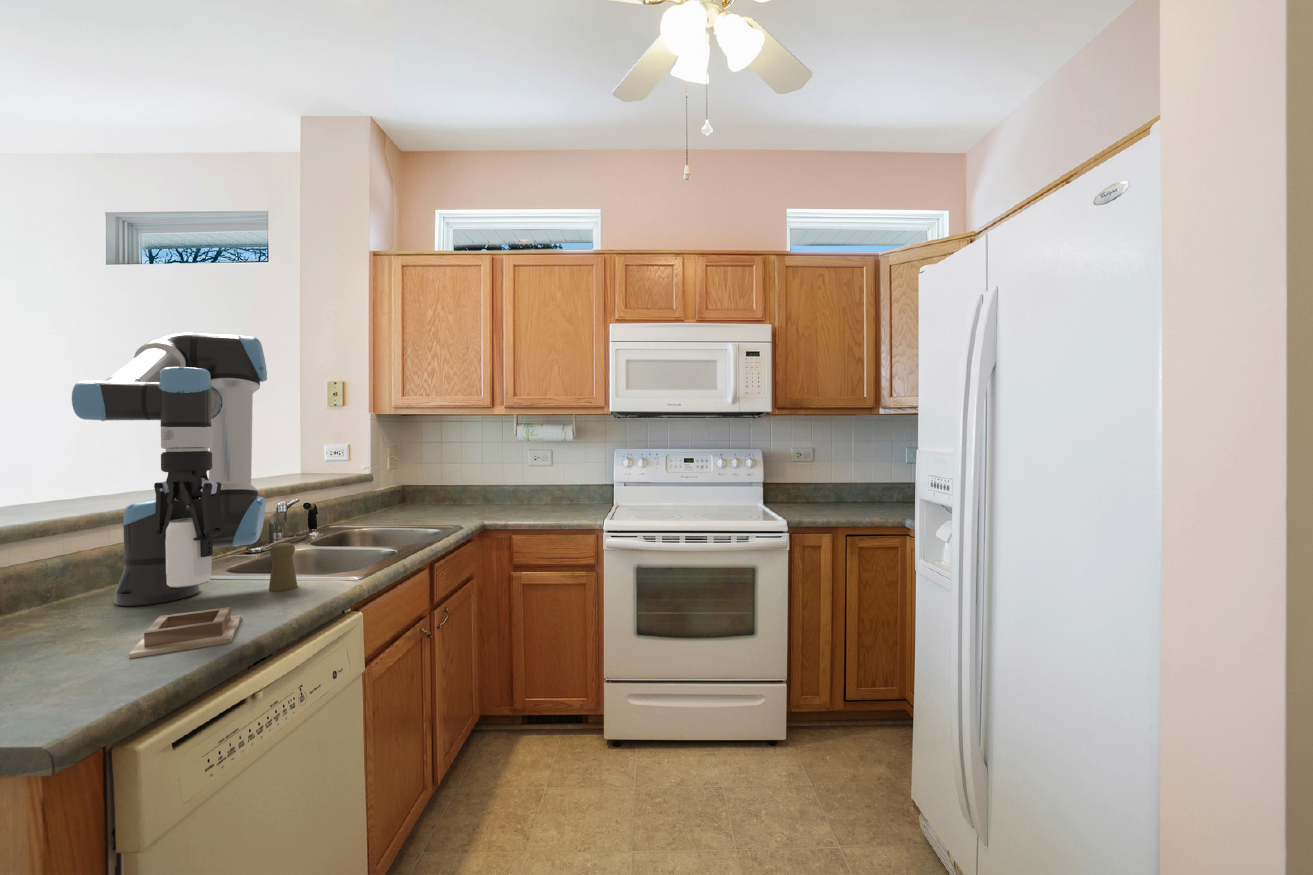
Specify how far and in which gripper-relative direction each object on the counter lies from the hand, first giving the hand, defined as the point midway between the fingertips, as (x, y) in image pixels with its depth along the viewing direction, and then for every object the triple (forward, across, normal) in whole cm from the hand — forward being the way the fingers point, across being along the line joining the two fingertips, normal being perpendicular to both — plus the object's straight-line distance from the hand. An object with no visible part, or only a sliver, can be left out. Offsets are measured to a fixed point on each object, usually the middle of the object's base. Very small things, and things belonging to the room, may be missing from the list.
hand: (188, 573), depth 109 cm
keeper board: (+12, 0, 0) cm, 12 cm away
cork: (+12, -14, +32) cm, 37 cm away
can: (+2, 0, 0) cm, 2 cm away
